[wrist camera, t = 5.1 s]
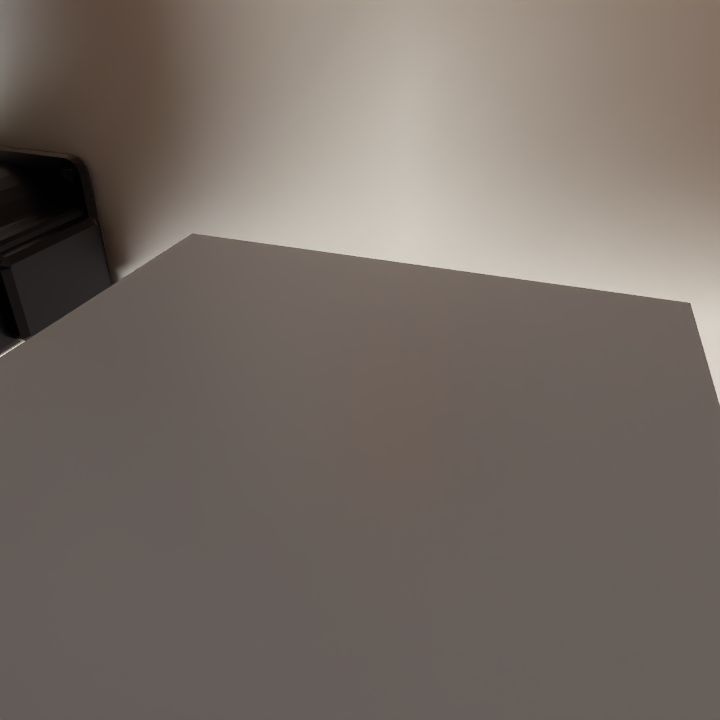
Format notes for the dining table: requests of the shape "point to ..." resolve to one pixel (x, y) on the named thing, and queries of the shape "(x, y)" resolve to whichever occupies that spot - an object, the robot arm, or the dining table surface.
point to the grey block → (358, 498)
